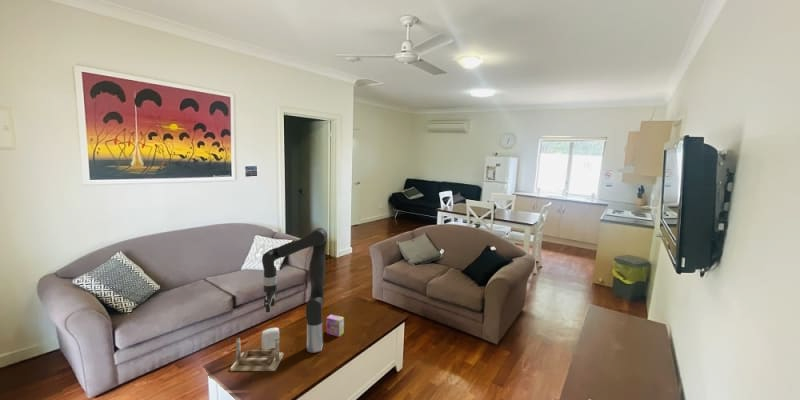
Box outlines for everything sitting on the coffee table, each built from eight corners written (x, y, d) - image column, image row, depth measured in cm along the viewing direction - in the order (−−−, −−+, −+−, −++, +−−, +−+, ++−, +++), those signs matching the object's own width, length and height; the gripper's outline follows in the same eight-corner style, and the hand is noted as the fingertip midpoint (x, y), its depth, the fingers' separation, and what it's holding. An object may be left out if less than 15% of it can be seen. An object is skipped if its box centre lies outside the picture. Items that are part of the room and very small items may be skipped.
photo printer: (278, 343, 205) (278, 325, 204) (280, 347, 202) (280, 328, 200) (260, 348, 199) (260, 329, 198) (262, 351, 196) (262, 332, 195)
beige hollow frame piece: (283, 354, 194) (283, 332, 192) (275, 370, 179) (275, 346, 177) (242, 354, 192) (241, 332, 191) (230, 370, 177) (229, 346, 176)
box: (326, 334, 219) (326, 317, 217) (330, 330, 224) (331, 314, 223) (339, 337, 215) (339, 320, 214) (343, 333, 220) (344, 317, 219)
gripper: (272, 287, 189) (272, 314, 191) (280, 279, 203) (280, 304, 205) (259, 287, 189) (259, 314, 190) (268, 278, 203) (268, 303, 205)
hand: (270, 308), depth 198 cm, fingers open, 8 cm apart
